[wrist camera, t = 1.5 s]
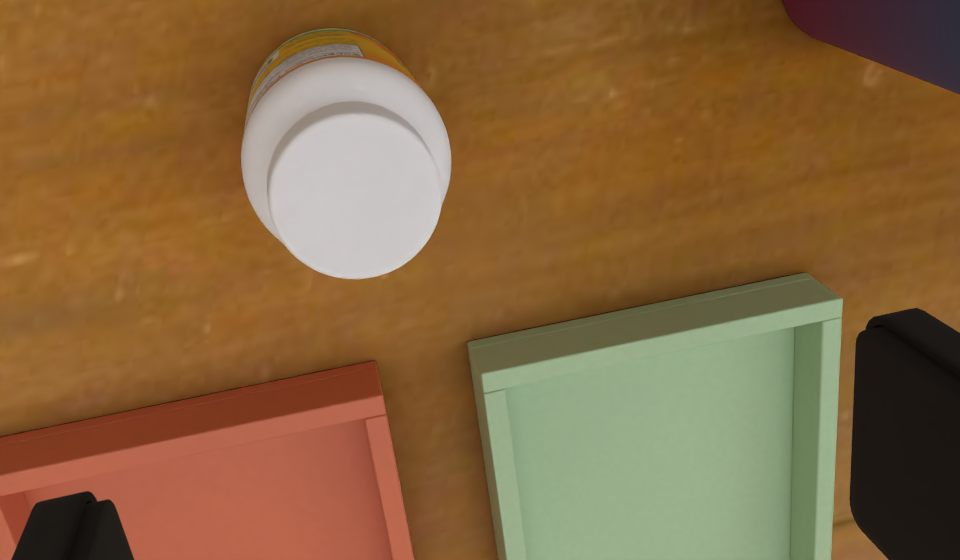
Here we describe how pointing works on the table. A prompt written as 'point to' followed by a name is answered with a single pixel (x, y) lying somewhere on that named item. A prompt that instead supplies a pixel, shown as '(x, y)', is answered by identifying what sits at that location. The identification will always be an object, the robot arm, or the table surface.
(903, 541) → the robot arm
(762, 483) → the sage tray
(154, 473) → the terracotta tray
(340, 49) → the supplement bottle
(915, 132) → the table surface
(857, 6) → the cup
